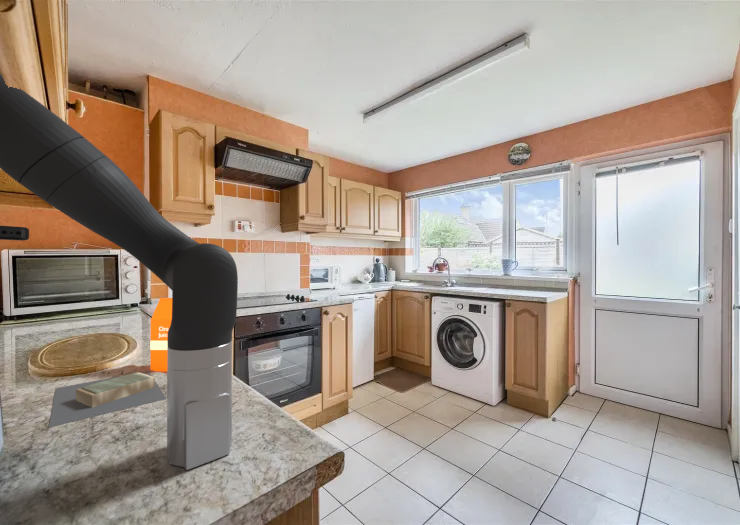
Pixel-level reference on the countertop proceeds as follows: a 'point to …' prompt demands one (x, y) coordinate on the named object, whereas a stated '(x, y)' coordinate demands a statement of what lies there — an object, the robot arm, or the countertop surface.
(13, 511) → the countertop surface
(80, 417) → the rubber mat
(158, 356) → the orange juice
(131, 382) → the birch plaque
